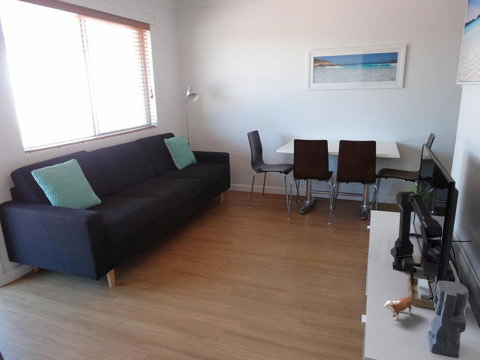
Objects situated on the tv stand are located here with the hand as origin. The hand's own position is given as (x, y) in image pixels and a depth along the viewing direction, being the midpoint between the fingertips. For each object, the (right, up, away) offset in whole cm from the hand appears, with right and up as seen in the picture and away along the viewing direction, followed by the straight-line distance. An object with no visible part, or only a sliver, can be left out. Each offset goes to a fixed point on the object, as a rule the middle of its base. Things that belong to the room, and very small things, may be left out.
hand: (424, 284), depth 152 cm
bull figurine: (-16, -10, -10) cm, 22 cm away
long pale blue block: (0, -5, +2) cm, 5 cm away
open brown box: (0, -5, +2) cm, 6 cm away
